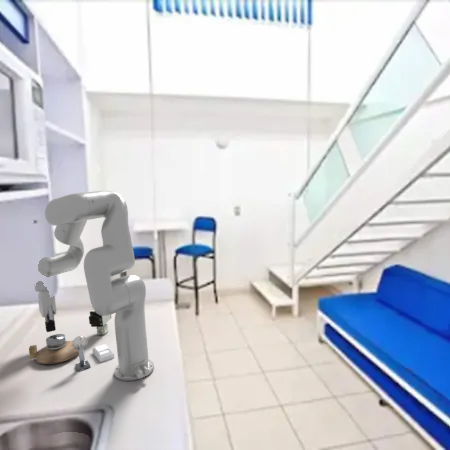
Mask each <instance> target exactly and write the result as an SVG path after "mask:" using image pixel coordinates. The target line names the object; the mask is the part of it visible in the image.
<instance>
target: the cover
mask: <svg viewBox="0 0 450 450" xmlns="http://www.w3.org/2000/svg"><path fill="white" fill-rule="evenodd" d="M66 341H67V340H66V335H65V334H63V333H59V334H57V333H56V334H52V335H49V336H48V337H46V339H45V342H46V346H45V347H46V349H47V350H49V351H55V350H59V349H62V348H64V347H65V346H66Z"/></svg>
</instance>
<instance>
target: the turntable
mask: <svg viewBox="0 0 450 450" xmlns="http://www.w3.org/2000/svg"><path fill="white" fill-rule="evenodd" d="M65 341H66V346H65V347H64V348H62V349H59V350H55V351H49V350H47V349H46V346H43V347H42V348H41V349H39V350H38V349H37V348H38V347H37V344H33V345H29V348H28V353H29V360H33V359H35V361H36V362H37V363H39V364H42V365H45V364H46V365H49V364H50V365H51V364H58V363H62V362H66V361H68V360H71V359H73V358H75V357H77V355H79V351H78V350H77V349H75V348H74V346H73V341H74V340H65Z"/></svg>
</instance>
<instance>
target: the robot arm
mask: <svg viewBox="0 0 450 450" xmlns="http://www.w3.org/2000/svg"><path fill="white" fill-rule="evenodd" d="M46 204H47V205H45V209H44V210H45V211H44V216H45V220H46V221H47V222H48V224H50V225H51V226H55V229H54V232H53V234H54V237H55V239H56V240H57V241H58V242H60V244H63V245H67V246H69V247H68V250H66V251H63V252H58V253H54V254H55V257H44V258H42V259H41V260H40V261H39V264H38V271H39V272H40V273H41V274H42V275H44V276H46V277H50V276H54V275H56V276H59V275H61V274H64V273H68V272H71V271H73V270H75V269H77V268H78V266H79V265H80V264H81V261H82V260H84V261H83V271H84V272H83V273H84V276H85V280H86V284H87V285H86V286H87V291H88V296H89V300H90V304H91V307H92V309H94V310H95V312H96V313H97V314H99V315H101V316H108V315H111V316H112V315H113V314H115V315H114V332H115V341H116V343H115V344H116V353H117V362H118V364H117V365H116V366H115V368H114V371H113V372H114V377H115V378H116V379H118V380H120V381H125V382H126V381H128V382H130V381H131V382H132V381H137V379H138V380H141V379H143V377H144V378H145V376H146V377H148V376H149V375H150V374H151V373H152V372H153V371H154V369H155V364H154V361H152V360H151V359H149V352H148V340H147V339H148V338H147V328H146V314H145V313H146V312H145V310H146V309H145V308H146V307H145V305H146V297H147V296H146V295H147V289H146V284H145V282H144V280H143V279H142V278H141V277H140V276H138V275H135V274H126V275H123V276H119V277H118V278H114V279H112V277H113V276H117V275H120V274H123V273H126V272H127V271H130V270H131V269H133V267H134V266H135V262H136V261H135V260H136V258H135V253H134V251H135V250H134V246H133V242H132V237H131V232H130V228H129V227H130V226H129V210H128V206H127V202H126V200H125V199H124V197H123V196H122V195H121V194H120V193H117V192H115V191H113V190H97V191H89V192H87V191H86V192H78V193H70V194H67V195H64V196H60V197H58V198H54V199H52V200H50V201H49V202H48V203H46ZM101 218H104V220H103V222H102V225H101V231H100V233H101V239H102V245H101V246H97V247H94V248H92V249H90V250H88V251H87V253H86V254H85V255H84V253H85V249H84V244H83V243H84V242H83V240H82V239H81V235H82V233H83V231H84V229H85V226H86V223H87V222H88V221H89V220H95V219H101ZM83 256H84V259H83ZM43 284H44V283H43V282H42V281H38V282H37V283H36V286H35V285H34V291H35V292H37V296H38V297H37V298H38V299H39V300H38V307H39V308H38V310H39V314H40V316H41V317H42V318H44V324H45V331H46V333H51V332H54V331H56V330H57V329H56V321H55V315H57V304H56V295H55V296H53V297H51V298H50V295H49V291H48V290H47V287H45V286H44V285H43ZM38 292H39V294H38Z"/></svg>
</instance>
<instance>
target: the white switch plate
mask: <svg viewBox="0 0 450 450" xmlns="http://www.w3.org/2000/svg"><path fill="white" fill-rule="evenodd" d="M92 353H93V355H94V356H95V357H96V358H97V360H98V362H99V363H102V362H105V361H108V360H111V359H115V354H114V352H113V351H112V350H111V348H109V347H108V346H107V344H105V343H103V344H101V345H97V346H94V347H93V348H92Z"/></svg>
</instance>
